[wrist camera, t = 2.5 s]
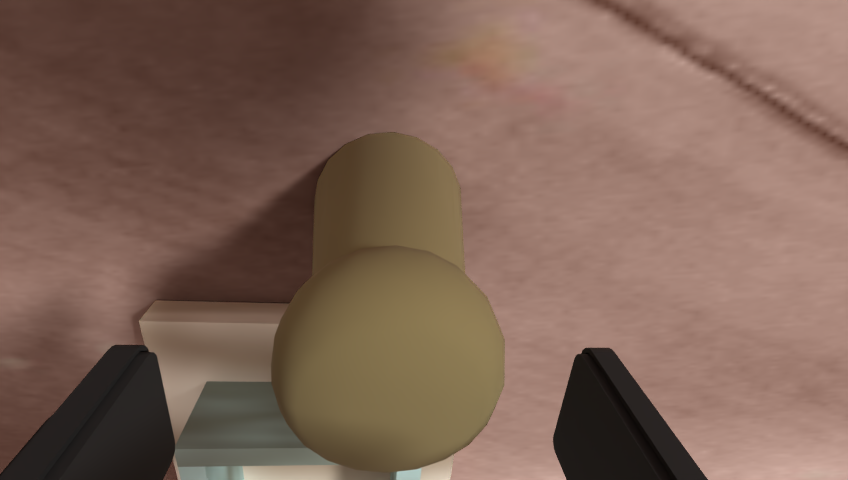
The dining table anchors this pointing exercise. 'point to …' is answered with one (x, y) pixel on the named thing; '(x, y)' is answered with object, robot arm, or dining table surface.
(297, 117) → the dining table surface
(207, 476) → the shaker caddy
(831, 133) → the dining table surface
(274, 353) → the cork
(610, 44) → the dining table surface
